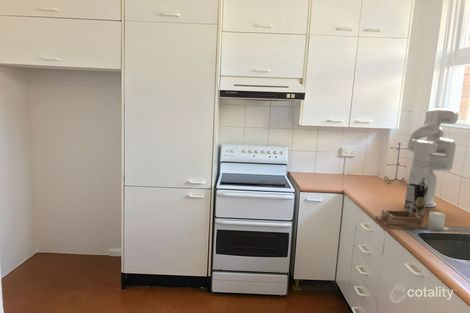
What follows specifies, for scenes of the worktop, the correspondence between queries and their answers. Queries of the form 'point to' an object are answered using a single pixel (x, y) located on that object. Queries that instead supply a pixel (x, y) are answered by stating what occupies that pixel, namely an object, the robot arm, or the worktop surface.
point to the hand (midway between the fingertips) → (416, 195)
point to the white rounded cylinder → (436, 220)
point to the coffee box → (415, 200)
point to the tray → (401, 220)
